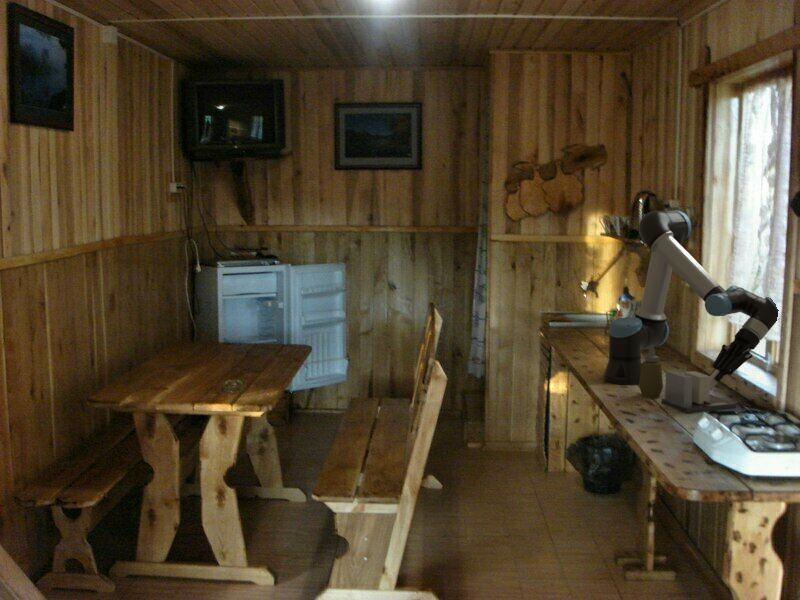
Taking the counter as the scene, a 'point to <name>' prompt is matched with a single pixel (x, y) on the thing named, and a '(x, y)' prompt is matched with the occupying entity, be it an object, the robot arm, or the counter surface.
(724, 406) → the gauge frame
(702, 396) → the block
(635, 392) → the counter surface
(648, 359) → the squeeze bottle
